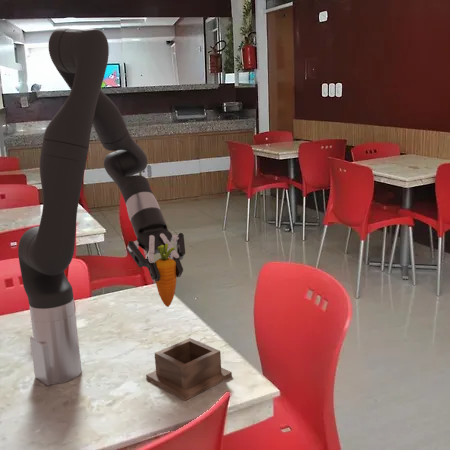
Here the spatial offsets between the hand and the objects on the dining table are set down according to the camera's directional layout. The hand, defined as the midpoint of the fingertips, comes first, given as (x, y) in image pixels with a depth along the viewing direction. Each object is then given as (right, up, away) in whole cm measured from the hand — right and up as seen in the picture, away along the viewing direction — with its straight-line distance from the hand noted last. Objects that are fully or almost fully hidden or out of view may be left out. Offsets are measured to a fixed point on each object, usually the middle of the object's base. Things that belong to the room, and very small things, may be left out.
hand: (169, 277), depth 122 cm
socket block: (+5, -21, -4) cm, 22 cm away
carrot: (-1, -7, +3) cm, 8 cm away
